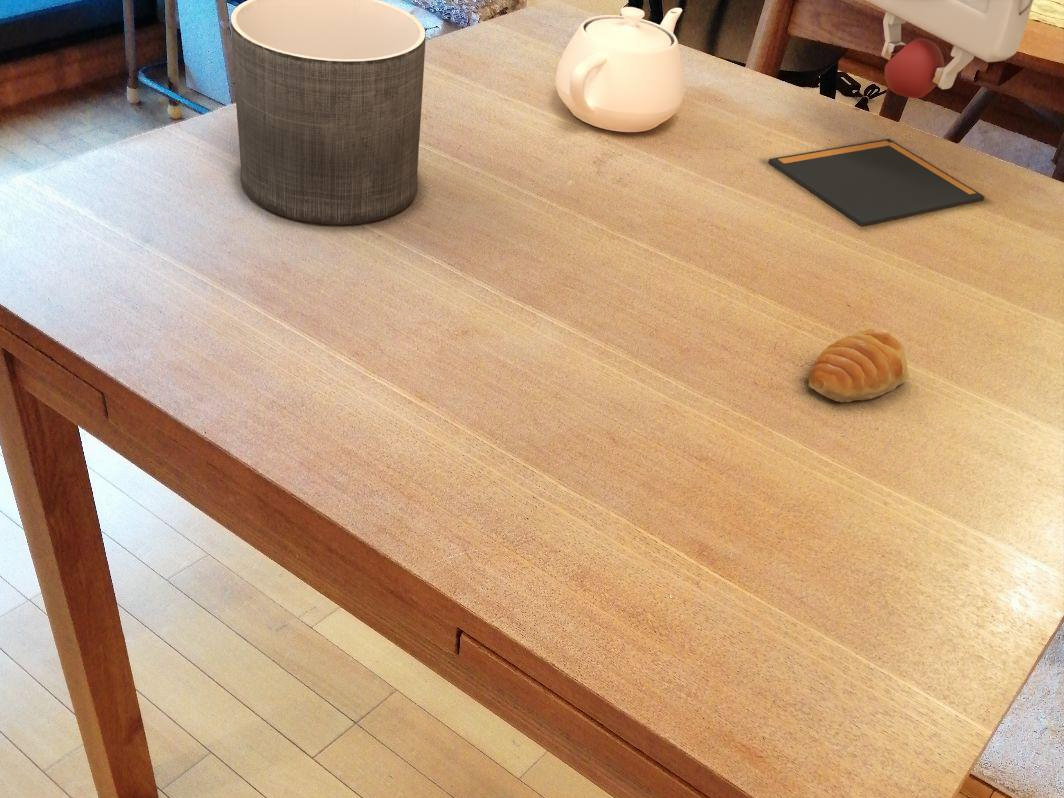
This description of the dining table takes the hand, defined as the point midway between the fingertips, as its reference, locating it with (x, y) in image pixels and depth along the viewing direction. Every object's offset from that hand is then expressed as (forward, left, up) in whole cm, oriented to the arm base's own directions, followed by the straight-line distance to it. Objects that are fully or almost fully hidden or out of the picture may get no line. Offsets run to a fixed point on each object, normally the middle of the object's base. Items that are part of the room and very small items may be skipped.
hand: (914, 72), depth 119 cm
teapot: (+20, -25, -13) cm, 34 cm away
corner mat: (0, 0, -13) cm, 13 cm away
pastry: (+32, +30, -13) cm, 46 cm away
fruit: (0, +1, -2) cm, 3 cm away
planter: (+61, -18, -13) cm, 65 cm away
